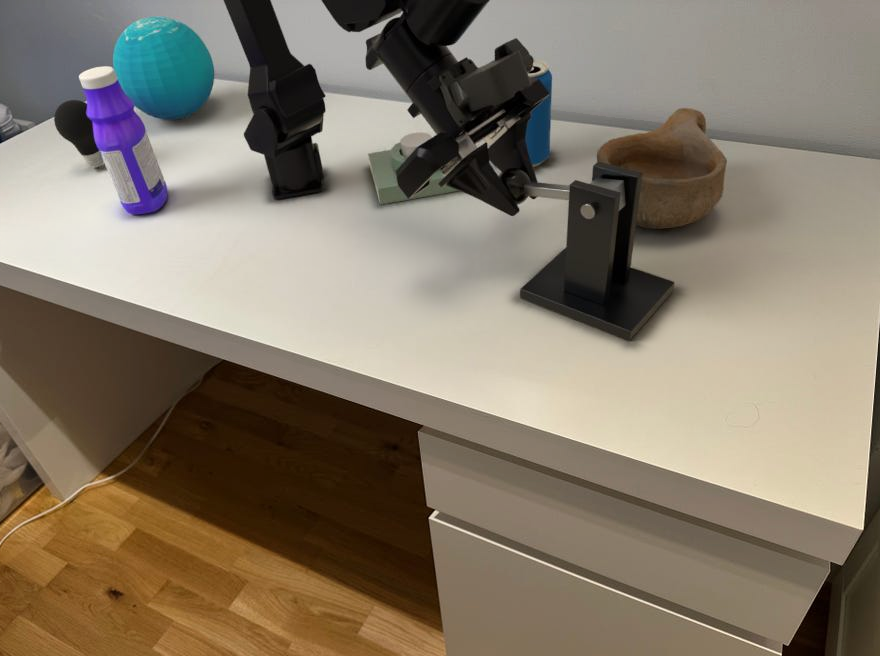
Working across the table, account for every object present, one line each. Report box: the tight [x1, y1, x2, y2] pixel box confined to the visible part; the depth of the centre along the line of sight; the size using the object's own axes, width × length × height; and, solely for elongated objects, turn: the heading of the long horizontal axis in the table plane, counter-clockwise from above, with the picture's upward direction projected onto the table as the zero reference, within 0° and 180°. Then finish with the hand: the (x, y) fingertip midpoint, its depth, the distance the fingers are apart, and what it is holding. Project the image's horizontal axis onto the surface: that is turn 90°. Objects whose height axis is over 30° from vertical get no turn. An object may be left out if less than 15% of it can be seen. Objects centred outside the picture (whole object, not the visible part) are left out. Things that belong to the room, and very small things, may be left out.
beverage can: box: [526, 58, 553, 168], centre depth 88 cm, size 6×6×12 cm
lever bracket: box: [519, 161, 675, 342], centre depth 66 cm, size 12×9×13 cm
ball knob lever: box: [498, 168, 626, 211], centre depth 66 cm, size 13×4×4 cm, turn 50°
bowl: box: [596, 107, 728, 229], centre depth 78 cm, size 18×14×10 cm
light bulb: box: [53, 99, 104, 170], centre depth 100 cm, size 6×6×10 cm
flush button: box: [399, 132, 433, 158], centre depth 88 cm, size 4×4×2 cm
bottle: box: [78, 65, 168, 215], centre depth 88 cm, size 7×6×17 cm
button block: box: [367, 141, 460, 206], centre depth 90 cm, size 12×10×4 cm
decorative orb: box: [112, 15, 215, 121], centre depth 110 cm, size 15×15×15 cm
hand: (526, 205), depth 69 cm, fingers closed on ball knob lever, 3 cm apart
